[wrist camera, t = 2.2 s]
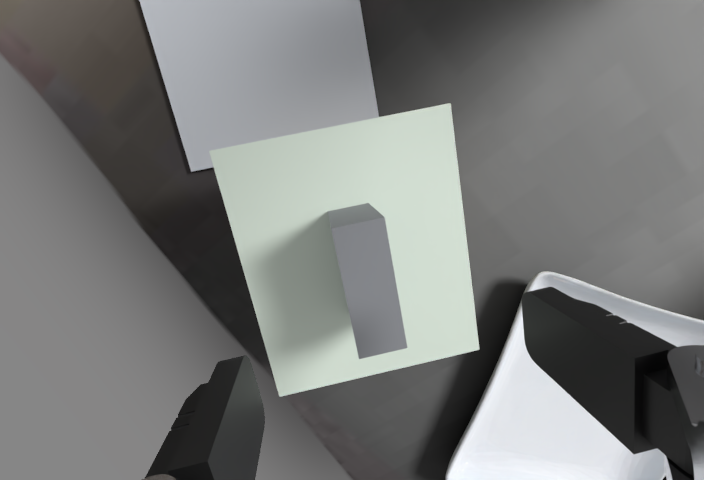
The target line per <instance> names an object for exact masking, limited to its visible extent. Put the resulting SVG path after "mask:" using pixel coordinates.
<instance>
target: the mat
mask: <svg viewBox="0 0 704 480" xmlns="http://www.w3.org/2000/svg"><path fill="white" fill-rule="evenodd" d="M139 1H140V4H141V8H142V11H143V14H144V18H145V21H146V24H147V27H148V31H149V34H150V37H151V41H152V44H153V47H154V50H155V54H156V57H157V60H158V64H159V67H160V70H161V74H162V77H163V80H164V83H165V87H166V90H167V93H168V97H169V100H170V103H171V107H172V110H173V113H174V116H175V120H176V123H177V126H178V130H179V133H180V136H181V140H182V143H183V146H184V149H185V153H186V156H187V159H188V163H189V166H190V169H191V172H193V171H198V170H203V169H208V168H213V167H214V166H213V163H212V159H211V156H210V153H209V151H211V150H216V149H221V148H226V147H231V146H236V145H241V144H246V143H251V142H256V141H261V140H266V139H271V138H276V137H282V136H287V135H292V134H297V133H302V132H307V131H312V130H317V129H322V128H327V127H332V126H337V125H342V124H347V123H352V122H358V121H363V120H368V119H373V118H378V117H379V114H378V108H377V102H376V96H375V90H374V84H373V78H372V72H371V66H370V60H369V54H368V48H367V42H366V36H365V30H364V24H363V18H362V12H361V6H360V0H139Z"/></svg>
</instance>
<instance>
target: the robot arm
mask: <svg viewBox="0 0 704 480" xmlns="http://www.w3.org/2000/svg"><path fill="white" fill-rule="evenodd" d="M522 315H523V328H524V340H525V345H526V349H527V351H528V353H529V355H530V357H531V359H532V360H533V361H534V362H535V363H536V364H537V365H538V366H539V367H540V368H541V369H542V370H543V371H544V372H545V373H546V374H547V375H549V376H550V377H551V378H552V379H553V380H554V381H555V382H556V383H557V384H558V385H559V386H560V387H562V388H563V389H564V390H565V391H566V392H567V393H568V394H569V395H570V396H571V397H572V398H573V399H574V400H576V401H577V402H578V403H579V404H580V405H581V406H582V407H583V408H584V409H585V410H586V411H587V412H589V413H590V414H591V415H592V416H593V417H594V418H595V419H596V420H597V421H598V422H599V423H600V424H602V425H603V426H604V427H605V428H606V429H607V430H608V431H609V432H610V433H611V434H612V435H613V436H615V437H616V438H617V439H618V440H619V441H620V442H621V443H622V444H623V445H624V446H625V447H626V448H628V449H629V450H630V451H631V452H632V453H633V454H638V453H641V452H645V451H649V450H653V449H657V448H658V449H659V450H660V451H661V452H662V453H664V471H665V475H666V479H667V480H704V345H686V346H680V347H677V346H675V345H673V344H671V343H669V342H667V341H665V340H663V339H661V338H659V337H657V336H655V335H653V334H652V333H650V332H648V331H646V330H644V329H642V328H640V327H638V326H636V325H634V324H632V323H628V322H627V320H625V319H623V318H621V317H619V316H617V315H613V313H611V312H609V311H607V310H605V309H603V308H602V307H600V306H598V305H596V304H592V303H588V302H585V301H581V300H577V299H574V298H572V297H570V296H568V295H567V294H565V293H563V292H561V291H559V290H557V289H555V288H553V287H546V288H542V289H538V290H533V291H529V292H525V293H524V294H523V295H522ZM264 424H265V416H264V408H263V403H262V399H261V396H260V392H259V389H258V386H257V382H256V379H255V376H254V372H253V369H252V365H251V363H250V360H249V358H248V357H247V356H241V357H237V358H232V359H228V360H224V361H220V362H218V364H217V365H216V367H215V369H214V372H213V374H212V376H211V379H210V380H209V382H208V383H206V384H201V385H200V386H199V387H198V388H197V389H196V390H195V391H194V392H193V393H192V394H191V395H190V396H189V397H188V398H187V399H186V400H185V402H184V404H183V406H182V408H181V410H180V412H179V414H178V418H176V420H175V422H174V424H173V425H172V427H171V431H169V433H168V435H167V437H166V439H165V441H164V443H163V445H162V446H161V449H160V450H159V452H158V454H157V456H156V458H155V460H154V462H153V464H152V466H151V468H150V470H149V471H148V474H147V475H146V477H145V479H142V480H255V476H256V471H257V465H258V459H259V454H260V448H261V442H262V437H263V431H264Z"/></svg>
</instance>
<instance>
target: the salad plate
mask: <svg viewBox="0 0 704 480" xmlns="http://www.w3.org/2000/svg"><path fill="white" fill-rule="evenodd" d="M546 287H553V288H555V289H557V290H559V291H561V292H563V293H565V294H567V295H568V296H570V297H572V298H574V299H577V300H581V301H585V302H588V303H592V304H596V305H598V306H600V307H602V308H603V309H605V310H607V311H609V312H611V313H613V315H617V316H619V317H621V318H623V319H625V320H627V322H628V323H632V324H634V325H636V326H638V327H640V328H642V329H644V330H646V331H648V332H650V333H652V334H653V335H655V336H657V337H659V338H661V339H663V340H665V341H667V342H669V343H671V344H673V345H675V346H677V347H680V346H686V345H704V320H700V319H696V318H692V317H688V316H685V315H681V314H677V313H674V312H671V311H667V310H663V309H660V308H657V307H653V306H650V305H647V304H644V303H641V302H638V301H635V300H632V299H629V298H626V297H623V296H620V295H617V294H615V293H612V292H609V291H606V290H604V289H601V288H599V287H596V286H593V285H591V284H588V283H586V282H583V281H580V280H578V279H575V278H571V277H568V276H565V275H562V274H558V273H555V272H550V271H543V272H540V273H538V274H536V275H535V276H534V277H533V278H532V279H531V280H530V281H529V283H528V285H527V287H526V289H525V291H524V293H525V292H529V291H533V290H538V289H542V288H546ZM524 293H523V294H524ZM664 477H665V471H664V453H662V452H661V451H660V450H659V449H658V448H657V449H653V450H649V451H645V452H641V453H638V454H633V453H632V452H631V451H630V450H629V449H628V448H626V447H625V446H624V445H623V444H622V443H621V442H620V441H619V440H618V439H617V438H616V437H615V436H613V435H612V434H611V433H610V432H609V431H608V430H607V429H606V428H605V427H604V426H603V425H602V424H600V423H599V422H598V421H597V420H596V419H595V418H594V417H593V416H592V415H591V414H590V413H589V412H587V411H586V410H585V409H584V408H583V407H582V406H581V405H580V404H579V403H578V402H577V401H576V400H574V399H573V398H572V397H571V396H570V395H569V394H568V393H567V392H566V391H565V390H564V389H563V388H562V387H560V386H559V385H558V384H557V383H556V382H555V381H554V380H553V379H552V378H551V377H550V376H549V375H547V374H546V373H545V372H544V371H543V370H542V369H541V368H540V367H539V366H538V365H537V364H536V363H535V362H534V361H533V360H532V359H531V357H530V355H529V353H528V351H527V349H526V345H525V340H524V328H523V315H522V299H521V302H520V305H519V308H518V310H517V313H516V316H515V319H514V321H513V324H512V327H511V329H510V332H509V335H508V338H507V340H506V342H505V345H504V347H503V350H502V352H501V355H500V357H499V360H498V362H497V364H496V366H495V369H494V371H493V373H492V376H491V378H490V380H489V382H488V384H487V387H486V389H485V391H484V393H483V395H482V398H481V400H480V402H479V404H478V406H477V408H476V410H475V412H474V414H473V416H472V418H471V420H470V422H469V424H468V426H467V428H466V430H465V432H464V434H463V436H462V438H461V439H460V441H459V443H458V445H457V447H456V449H455V451H454V453H453V455H452V457H451V460H450V462H449V465H448V468H447V472H446V480H663V478H664Z"/></svg>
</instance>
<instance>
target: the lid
mask: <svg viewBox="0 0 704 480" xmlns="http://www.w3.org/2000/svg"><path fill="white" fill-rule="evenodd" d="M209 153H210V156H211V159H212V163H213V166H214V170H215V173H216V177H217V180H218V184H219V187H220V191H221V194H222V198H223V201H224V205H225V208H226V212H227V215H228V219H229V222H230V226H231V229H232V233H233V236H234V240H235V243H236V247H237V250H238V254H239V257H240V261H241V264H242V268H243V271H244V275H245V278H246V282H247V285H248V289H249V292H250V296H251V299H252V302H253V306H254V309H255V313H256V316H257V320H258V323H259V327H260V330H261V334H262V337H263V341H264V344H265V348H266V351H267V355H268V358H269V362H270V365H271V369H272V372H273V376H274V379H275V383H276V386H277V390H278V393H279V396H285V395H289V394H293V393H298V392H302V391H306V390H310V389H315V388H319V387H323V386H327V385H332V384H336V383H340V382H344V381H349V380H353V379H357V378H361V377H366V376H370V375H374V374H378V373H383V372H387V371H391V370H395V369H400V368H404V367H408V366H412V365H417V364H421V363H425V362H429V361H434V360H438V359H442V358H446V357H451V356H455V355H459V354H463V353H468V352H472V351H476V350H480V349H479V341H478V332H477V324H476V315H475V307H474V298H473V290H472V281H471V273H470V264H469V256H468V247H467V239H466V230H465V222H464V213H463V205H462V196H461V188H460V179H459V171H458V162H457V154H456V145H455V137H454V128H453V120H452V111H451V103H449V104H444V105H439V106H433V107H428V108H423V109H418V110H413V111H408V112H403V113H398V114H393V115H388V116H383V117H378V118H373V119H368V120H363V121H358V122H352V123H347V124H342V125H337V126H332V127H327V128H322V129H317V130H312V131H307V132H302V133H297V134H292V135H287V136H282V137H276V138H271V139H266V140H261V141H256V142H251V143H246V144H241V145H236V146H231V147H226V148H221V149H216V150H211V151H209Z"/></svg>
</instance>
